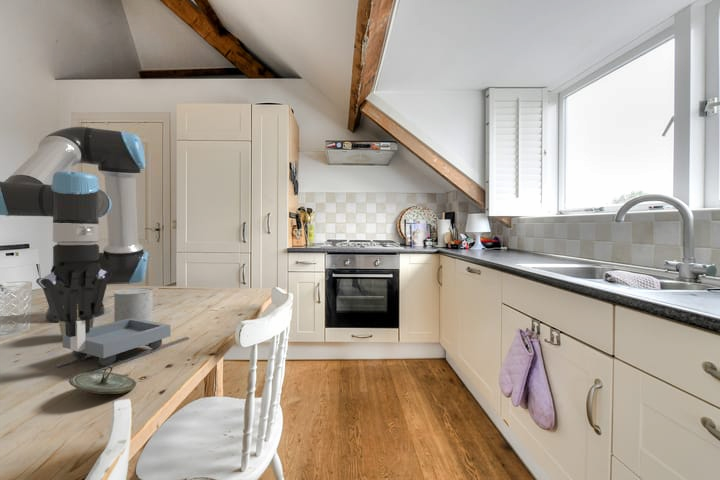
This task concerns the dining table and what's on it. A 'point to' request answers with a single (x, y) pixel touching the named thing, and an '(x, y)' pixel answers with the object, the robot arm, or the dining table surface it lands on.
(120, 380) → the lid
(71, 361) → the track
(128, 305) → the grey canister
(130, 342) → the cart
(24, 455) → the dining table surface
